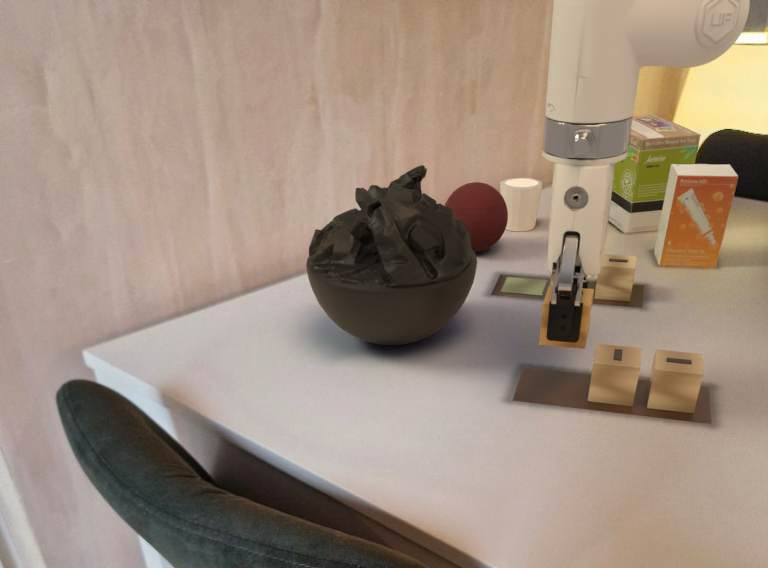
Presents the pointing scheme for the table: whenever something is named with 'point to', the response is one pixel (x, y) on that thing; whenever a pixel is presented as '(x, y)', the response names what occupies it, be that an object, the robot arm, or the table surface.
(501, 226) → the decorative ball
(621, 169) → the tea box
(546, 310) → the orange wooden cube
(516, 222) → the shot glass
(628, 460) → the table surface
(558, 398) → the front word board
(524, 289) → the board
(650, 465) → the table surface
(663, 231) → the small box
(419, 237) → the coal bowl
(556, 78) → the robot arm
